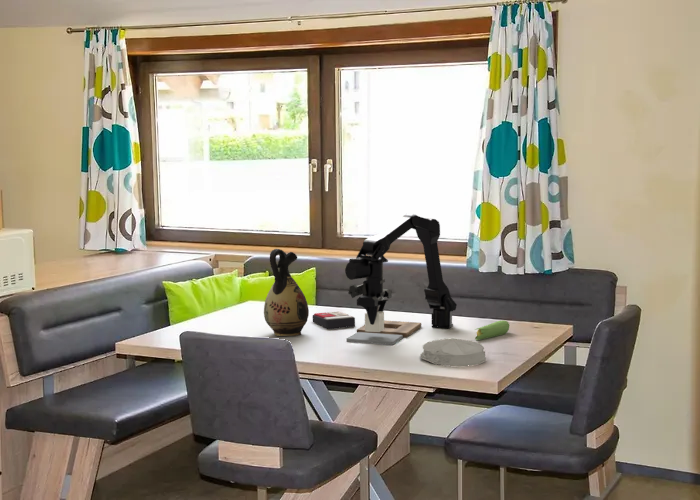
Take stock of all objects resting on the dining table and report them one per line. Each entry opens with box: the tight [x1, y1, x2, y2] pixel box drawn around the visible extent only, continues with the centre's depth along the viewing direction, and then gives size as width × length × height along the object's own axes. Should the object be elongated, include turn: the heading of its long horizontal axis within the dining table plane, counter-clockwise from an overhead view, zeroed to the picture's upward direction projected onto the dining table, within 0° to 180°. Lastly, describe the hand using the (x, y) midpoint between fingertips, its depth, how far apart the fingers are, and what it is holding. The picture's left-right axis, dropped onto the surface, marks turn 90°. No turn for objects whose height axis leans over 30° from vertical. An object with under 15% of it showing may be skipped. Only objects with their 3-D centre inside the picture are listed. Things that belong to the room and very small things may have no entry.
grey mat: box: [346, 331, 404, 346], centre depth 289 cm, size 16×11×1 cm
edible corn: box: [474, 319, 510, 342], centre depth 292 cm, size 5×20×4 cm
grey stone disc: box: [419, 337, 487, 367], centre depth 262 cm, size 20×20×7 cm
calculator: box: [312, 311, 356, 330], centre depth 315 cm, size 11×4×15 cm
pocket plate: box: [356, 319, 422, 338], centre depth 304 cm, size 18×18×2 cm
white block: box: [364, 311, 385, 332], centre depth 288 cm, size 5×5×6 cm
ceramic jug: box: [263, 248, 310, 337], centre depth 297 cm, size 17×15×30 cm
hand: (374, 322), depth 288 cm, fingers closed on white block, 5 cm apart
